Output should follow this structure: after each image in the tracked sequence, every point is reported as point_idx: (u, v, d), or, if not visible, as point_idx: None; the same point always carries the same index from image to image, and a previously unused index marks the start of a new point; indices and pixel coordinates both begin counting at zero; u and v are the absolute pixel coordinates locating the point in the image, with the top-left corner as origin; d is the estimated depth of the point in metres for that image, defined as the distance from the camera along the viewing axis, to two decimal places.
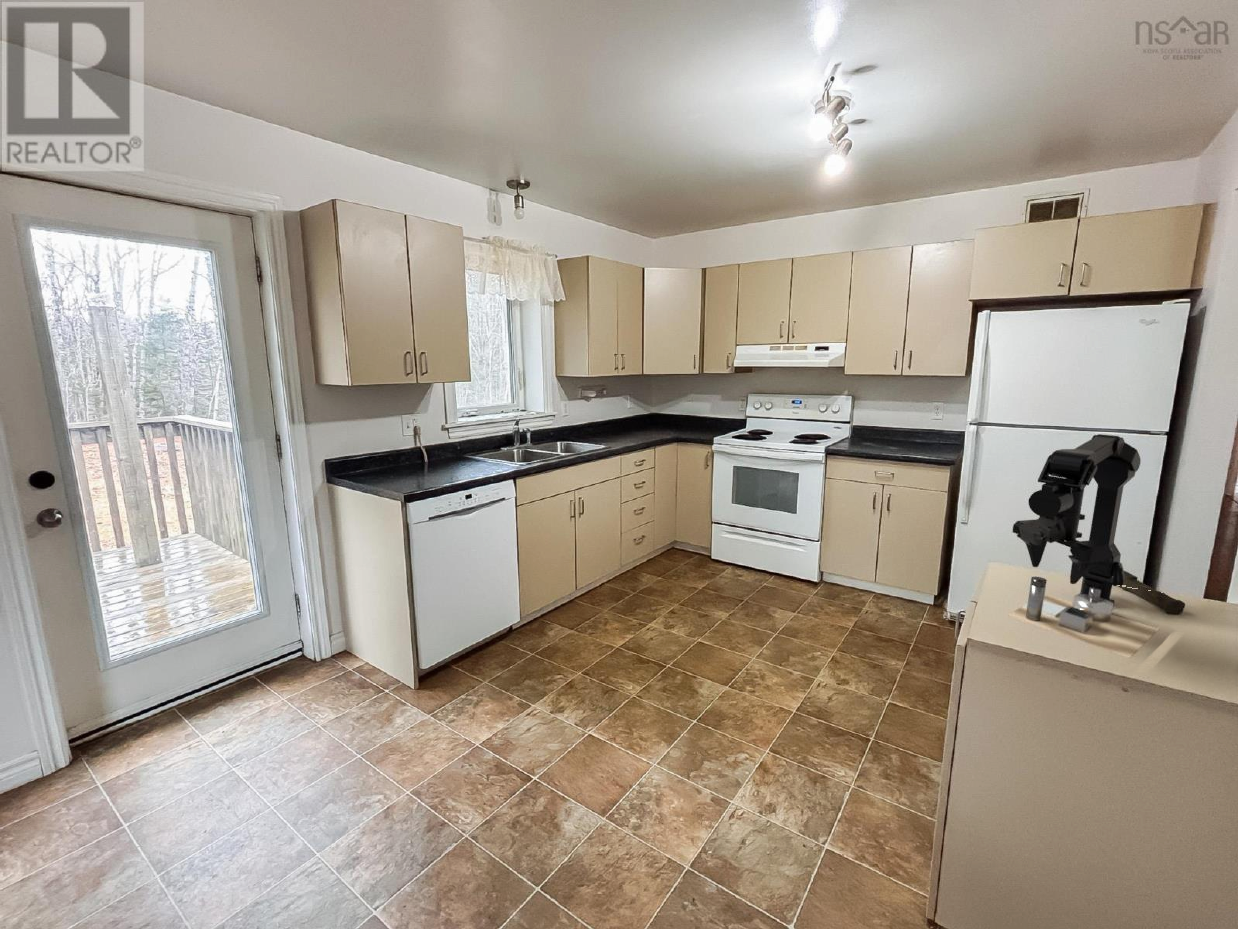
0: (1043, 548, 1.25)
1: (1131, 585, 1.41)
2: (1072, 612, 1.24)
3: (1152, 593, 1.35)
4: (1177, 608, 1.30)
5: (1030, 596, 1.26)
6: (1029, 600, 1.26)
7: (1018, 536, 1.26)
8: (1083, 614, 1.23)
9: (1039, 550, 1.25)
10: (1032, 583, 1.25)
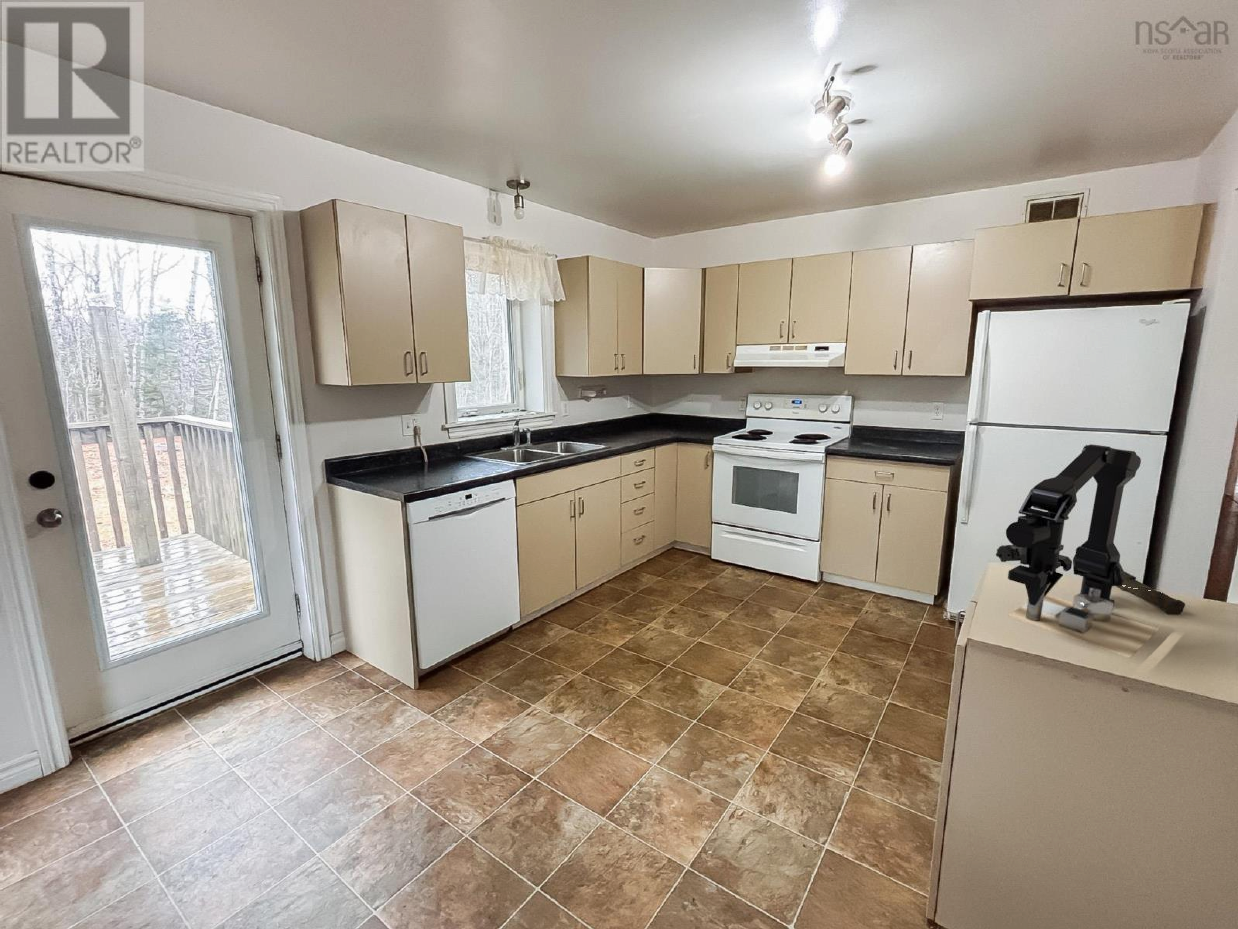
0: (1050, 586, 1.25)
1: (1130, 585, 1.41)
2: (1072, 612, 1.24)
3: (1152, 593, 1.35)
4: (1177, 608, 1.30)
5: None
6: None
7: None
8: (1083, 614, 1.23)
9: None
10: None
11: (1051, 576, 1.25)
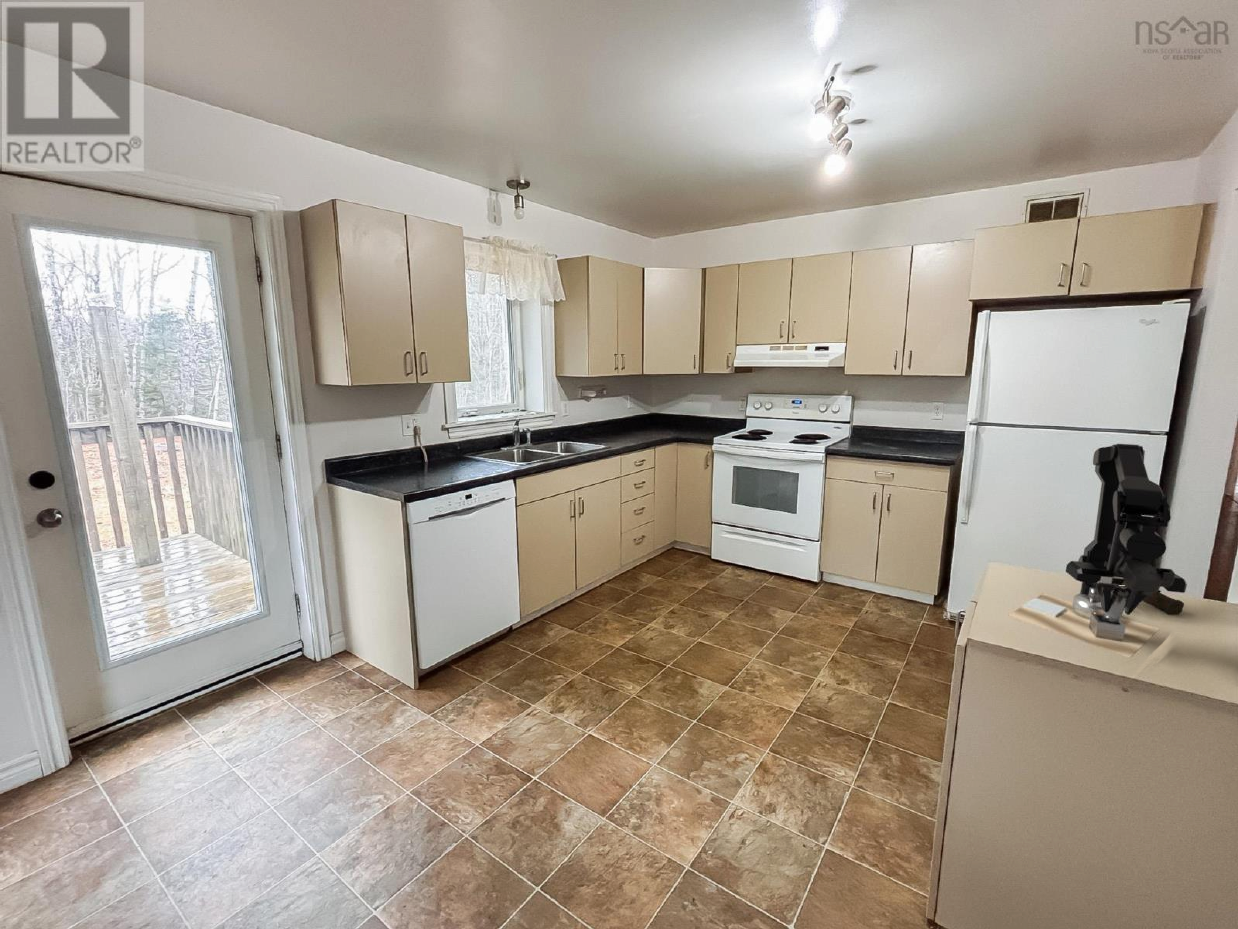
0: None
1: (1125, 586, 1.41)
2: None
3: None
4: (1177, 608, 1.30)
5: (1123, 609, 1.17)
6: None
7: (1104, 586, 1.15)
8: None
9: None
10: (1129, 595, 1.16)
11: None
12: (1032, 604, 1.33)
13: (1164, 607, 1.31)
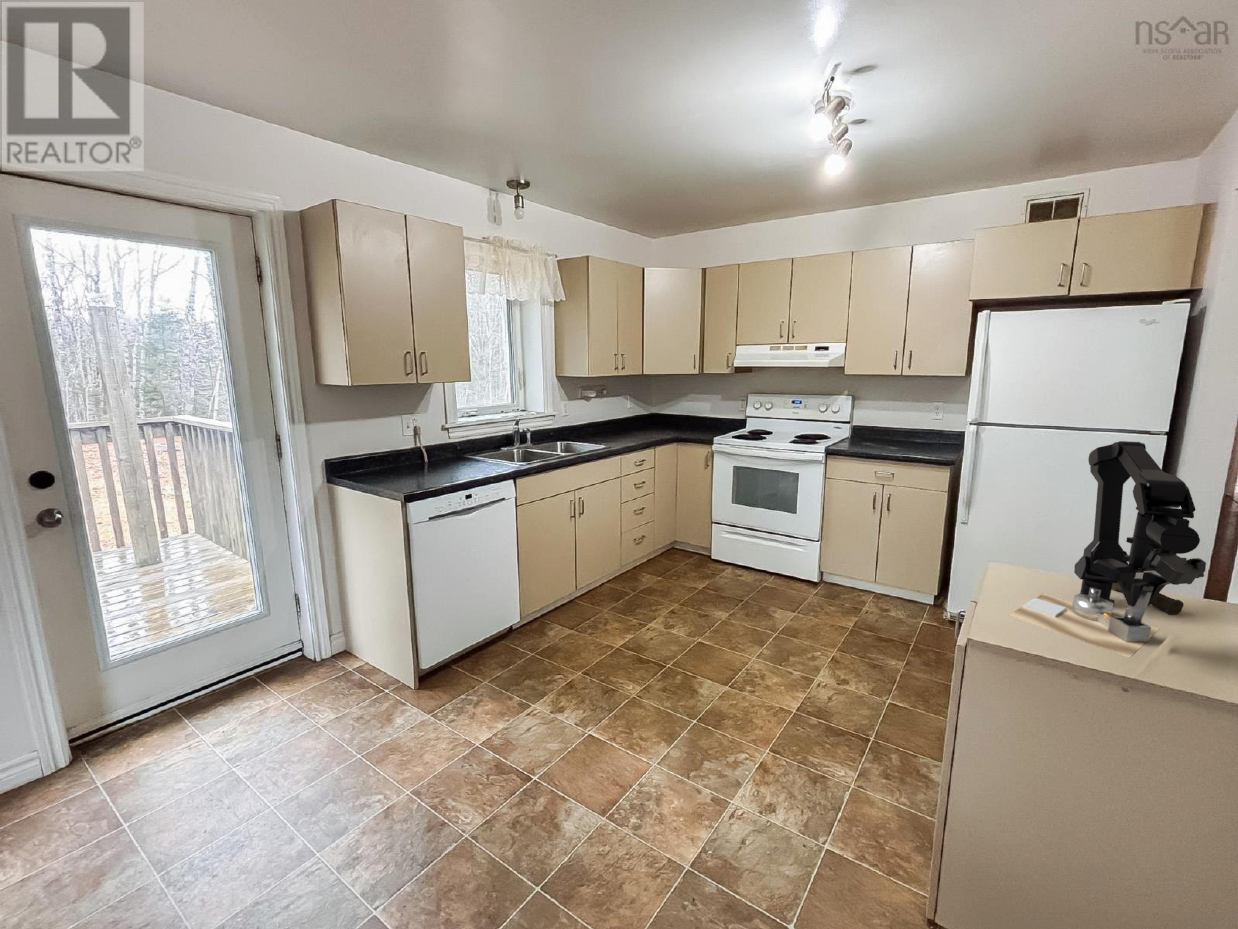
0: None
1: None
2: None
3: None
4: (1177, 608, 1.30)
5: None
6: None
7: (1139, 582, 1.12)
8: None
9: None
10: None
11: None
12: (1032, 604, 1.33)
13: (1164, 607, 1.31)
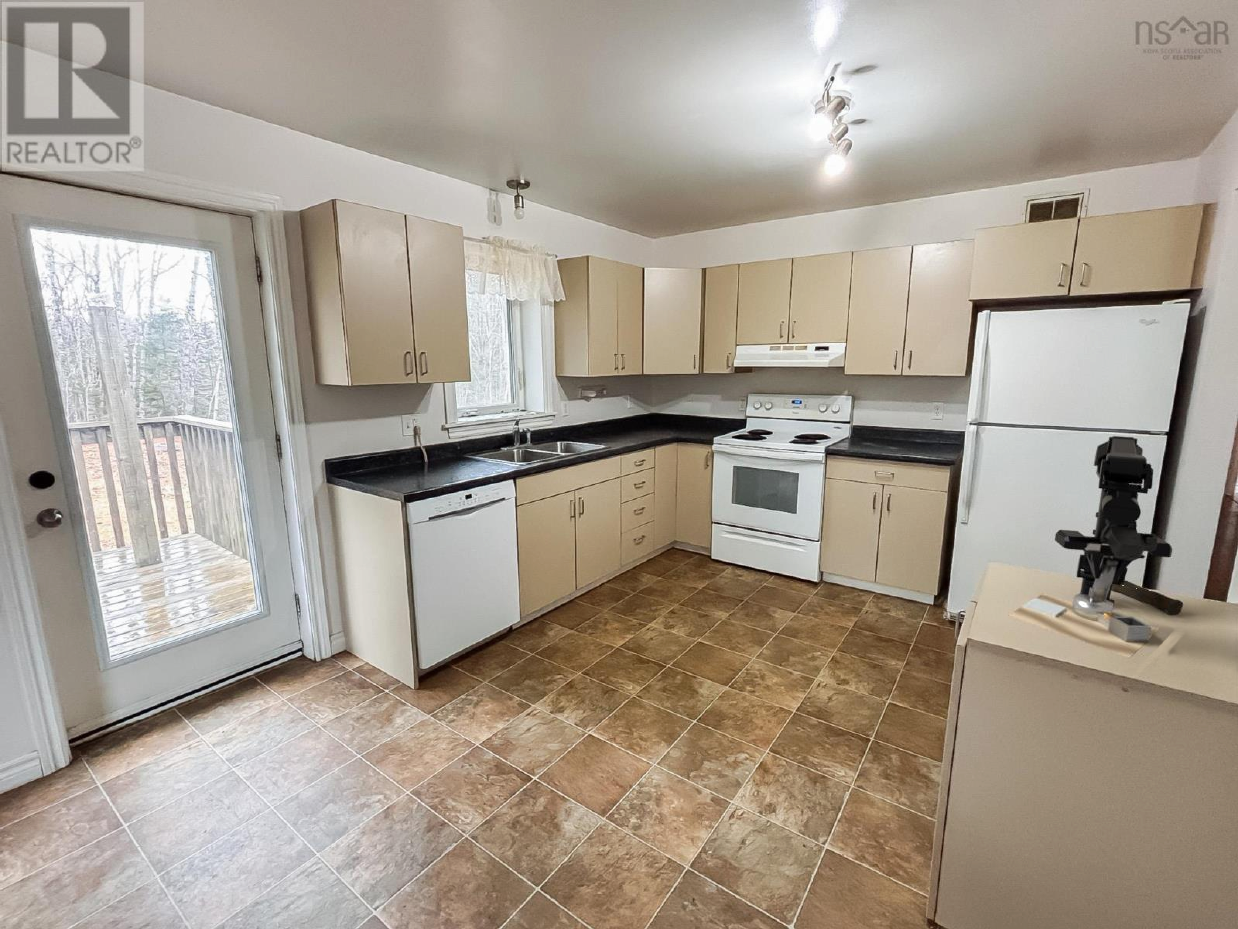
0: None
1: (1122, 586, 1.41)
2: None
3: (1148, 594, 1.35)
4: (1177, 608, 1.30)
5: (1113, 578, 1.20)
6: (1111, 582, 1.20)
7: (1092, 553, 1.19)
8: (1126, 620, 1.20)
9: None
10: (1118, 564, 1.19)
11: None
12: (1032, 604, 1.33)
13: (1164, 607, 1.31)
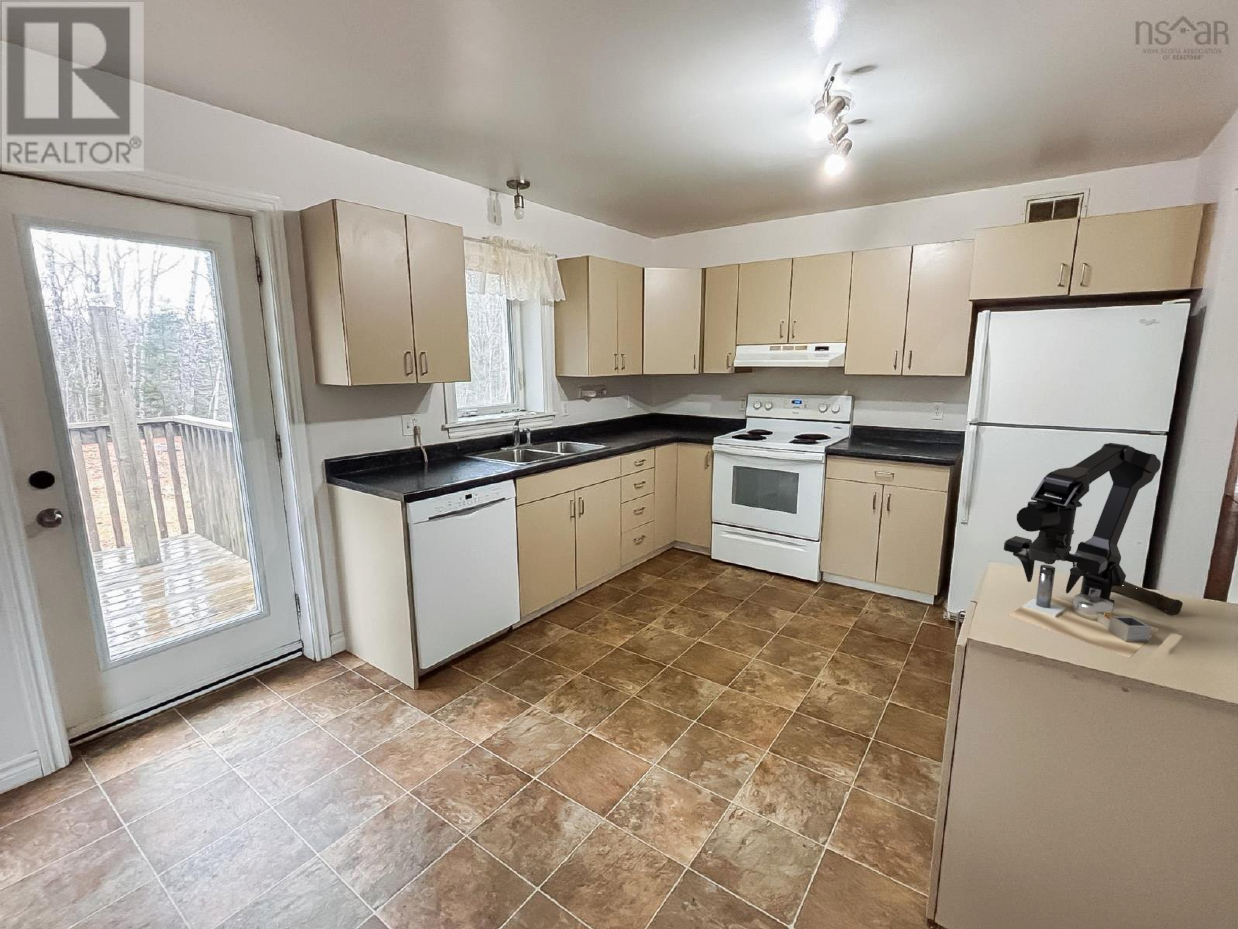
0: (1033, 563, 1.34)
1: (1120, 586, 1.41)
2: None
3: (1148, 594, 1.35)
4: (1178, 608, 1.30)
5: (1050, 586, 1.30)
6: (1049, 590, 1.30)
7: (1016, 555, 1.33)
8: (1126, 620, 1.20)
9: (1031, 565, 1.33)
10: (1052, 573, 1.29)
11: None
12: (1032, 604, 1.33)
13: (1165, 608, 1.31)
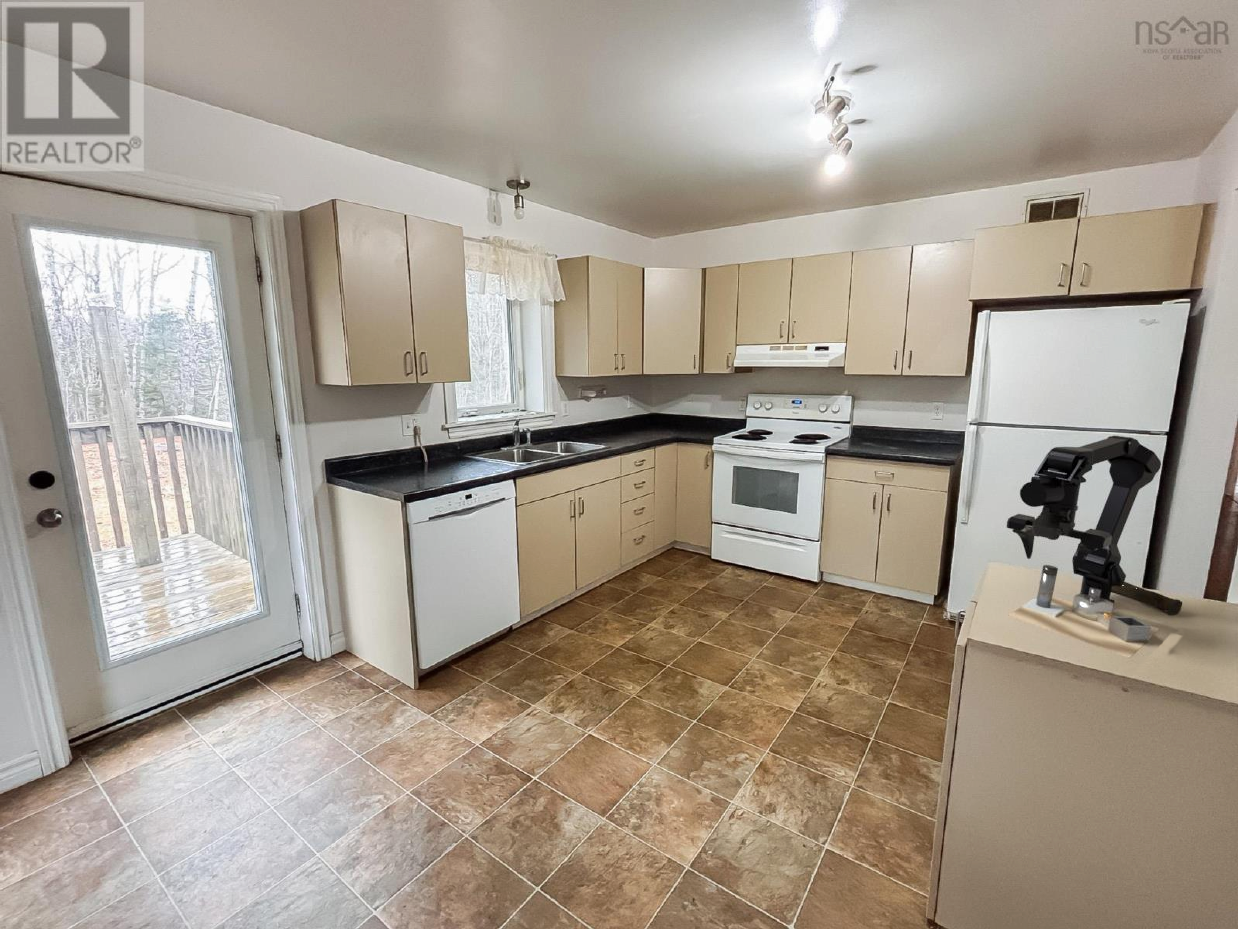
0: (1033, 540, 1.33)
1: (1120, 587, 1.40)
2: None
3: (1148, 594, 1.35)
4: (1178, 608, 1.30)
5: (1051, 586, 1.29)
6: (1050, 590, 1.30)
7: (1015, 531, 1.32)
8: (1126, 620, 1.20)
9: (1031, 542, 1.33)
10: (1054, 574, 1.29)
11: (1033, 530, 1.33)
12: (1032, 604, 1.33)
13: (1165, 608, 1.31)
